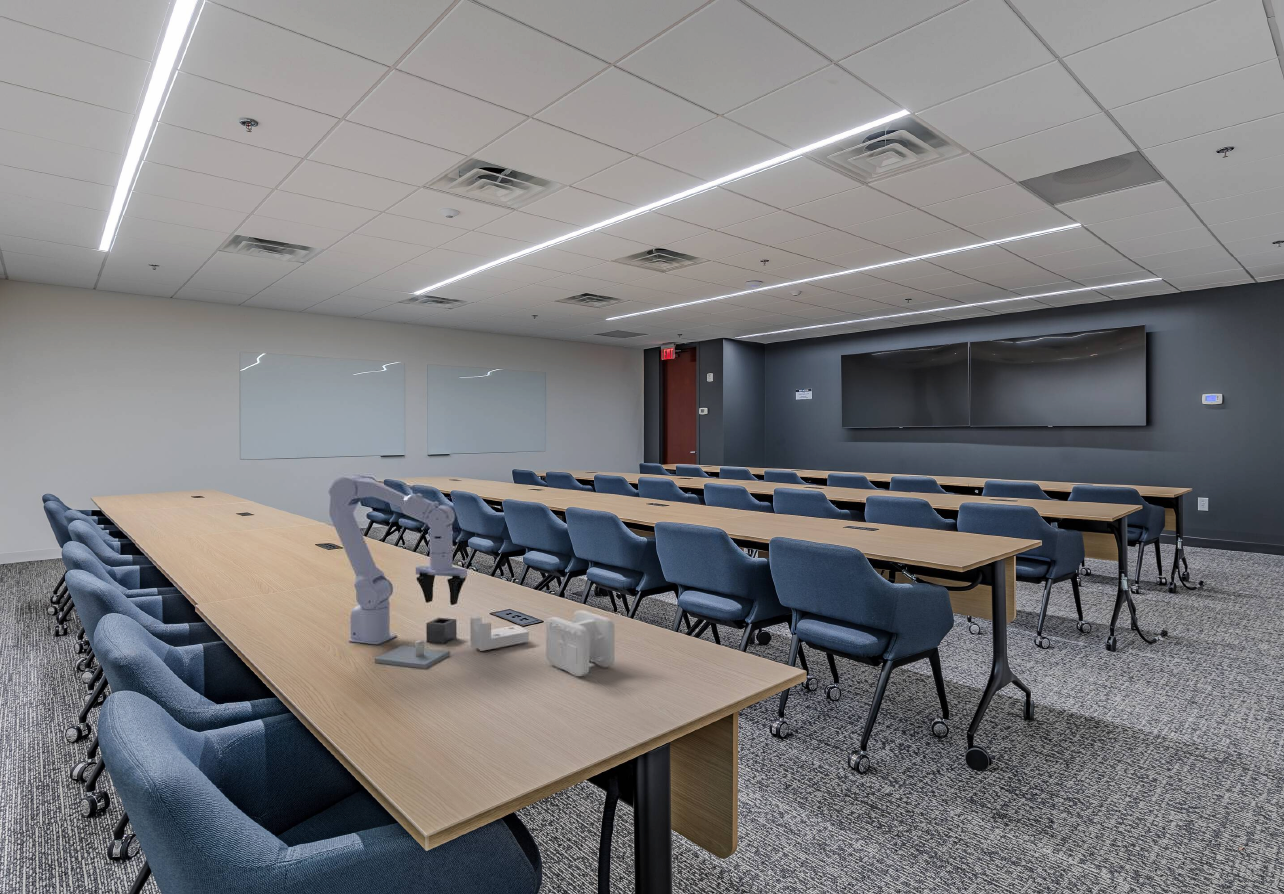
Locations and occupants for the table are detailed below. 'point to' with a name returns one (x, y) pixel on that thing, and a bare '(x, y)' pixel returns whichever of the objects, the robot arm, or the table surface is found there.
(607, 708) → the table surface
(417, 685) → the table surface
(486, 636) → the bracket
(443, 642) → the dark grey hollow block
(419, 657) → the plate with peg
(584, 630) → the cable organizer
